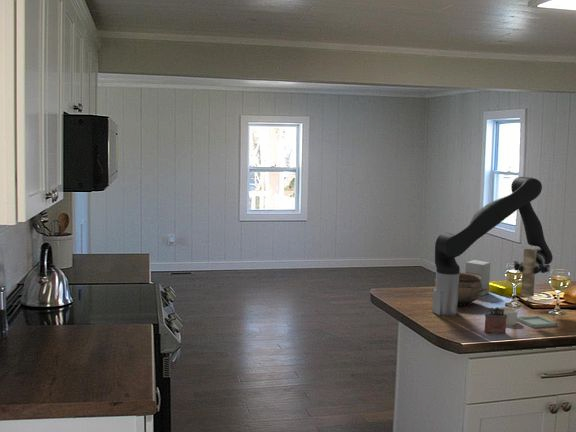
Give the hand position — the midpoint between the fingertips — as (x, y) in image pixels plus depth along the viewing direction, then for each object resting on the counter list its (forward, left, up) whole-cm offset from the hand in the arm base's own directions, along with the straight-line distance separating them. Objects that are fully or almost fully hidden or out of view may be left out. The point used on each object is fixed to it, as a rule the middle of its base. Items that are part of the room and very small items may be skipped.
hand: (528, 270), depth 248 cm
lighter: (-19, -8, -22) cm, 30 cm away
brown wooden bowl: (-7, +36, -22) cm, 43 cm away
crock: (-6, +4, -22) cm, 23 cm away
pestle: (+2, +2, -10) cm, 11 cm away
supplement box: (+12, +52, -22) cm, 58 cm away
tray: (+5, 0, -22) cm, 23 cm away
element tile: (+29, +51, -22) cm, 63 cm away
